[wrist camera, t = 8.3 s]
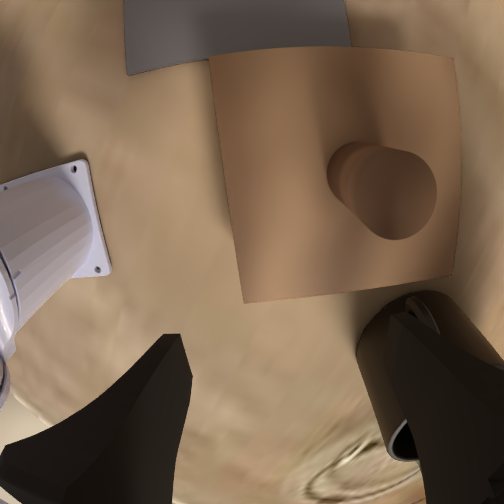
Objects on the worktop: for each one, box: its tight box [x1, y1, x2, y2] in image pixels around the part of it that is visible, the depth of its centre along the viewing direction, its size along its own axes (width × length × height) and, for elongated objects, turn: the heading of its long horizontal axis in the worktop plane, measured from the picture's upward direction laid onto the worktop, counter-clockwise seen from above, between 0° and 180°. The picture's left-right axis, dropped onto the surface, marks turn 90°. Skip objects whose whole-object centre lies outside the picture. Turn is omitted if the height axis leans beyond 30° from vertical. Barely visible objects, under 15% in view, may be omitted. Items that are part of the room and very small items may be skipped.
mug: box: [357, 291, 504, 462], centre depth 18 cm, size 9×12×9 cm
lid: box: [208, 46, 462, 304], centre depth 12 cm, size 12×12×5 cm
